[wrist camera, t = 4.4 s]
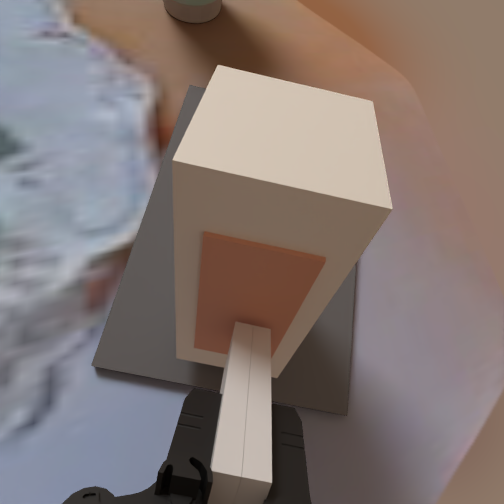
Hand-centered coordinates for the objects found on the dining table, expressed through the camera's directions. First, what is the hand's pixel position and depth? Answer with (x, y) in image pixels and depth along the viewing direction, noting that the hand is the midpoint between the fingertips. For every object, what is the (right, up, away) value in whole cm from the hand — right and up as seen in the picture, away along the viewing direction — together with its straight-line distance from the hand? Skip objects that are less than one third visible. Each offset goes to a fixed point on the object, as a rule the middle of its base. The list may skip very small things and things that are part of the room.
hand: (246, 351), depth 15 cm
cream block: (-1, 0, +7) cm, 7 cm away
